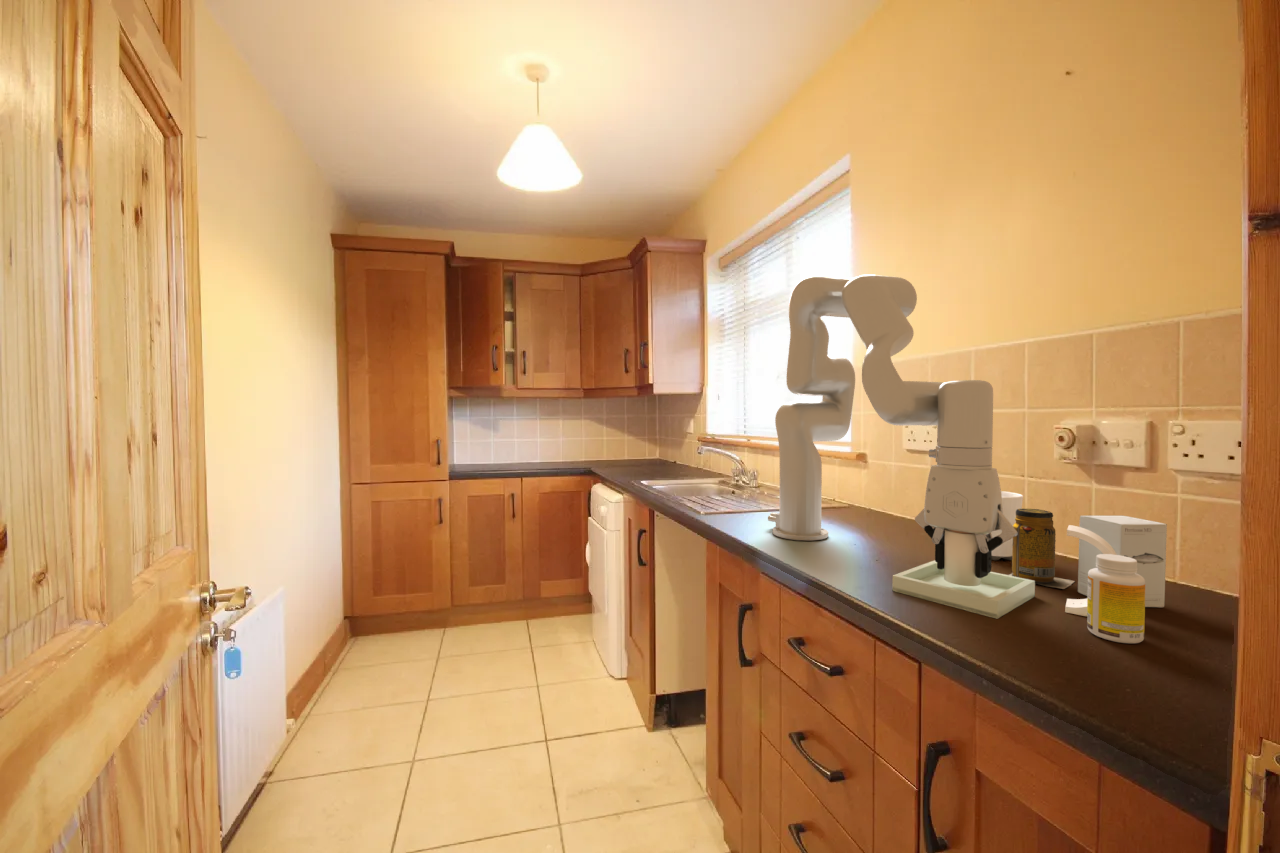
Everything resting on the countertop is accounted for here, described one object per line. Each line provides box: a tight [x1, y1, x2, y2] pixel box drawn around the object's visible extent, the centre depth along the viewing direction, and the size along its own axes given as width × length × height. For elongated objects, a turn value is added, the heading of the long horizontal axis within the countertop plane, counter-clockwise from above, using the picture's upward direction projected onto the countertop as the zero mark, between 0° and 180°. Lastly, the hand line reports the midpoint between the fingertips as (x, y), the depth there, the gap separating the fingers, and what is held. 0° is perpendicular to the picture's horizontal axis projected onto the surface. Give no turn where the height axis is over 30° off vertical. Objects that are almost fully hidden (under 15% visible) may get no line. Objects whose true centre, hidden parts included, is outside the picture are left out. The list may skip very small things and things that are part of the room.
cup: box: [991, 490, 1024, 561], centre depth 108 cm, size 10×10×13 cm
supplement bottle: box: [1086, 554, 1146, 644], centre depth 69 cm, size 6×6×10 cm
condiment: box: [1008, 508, 1076, 590], centre depth 93 cm, size 7×8×12 cm
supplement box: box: [1077, 515, 1168, 608], centre depth 83 cm, size 7×7×13 cm
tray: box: [891, 559, 1036, 620], centre depth 86 cm, size 15×15×2 cm
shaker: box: [944, 529, 981, 586], centre depth 86 cm, size 5×5×9 cm
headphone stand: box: [1064, 524, 1117, 617], centre depth 77 cm, size 5×6×12 cm
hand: (962, 570), depth 86 cm, fingers closed on shaker, 5 cm apart
